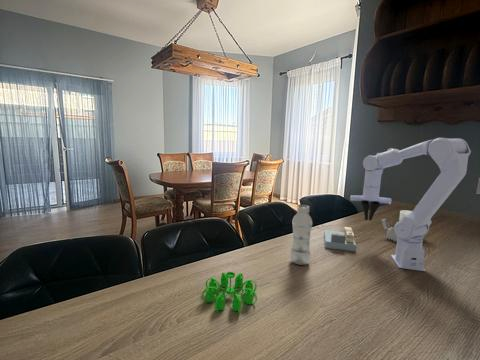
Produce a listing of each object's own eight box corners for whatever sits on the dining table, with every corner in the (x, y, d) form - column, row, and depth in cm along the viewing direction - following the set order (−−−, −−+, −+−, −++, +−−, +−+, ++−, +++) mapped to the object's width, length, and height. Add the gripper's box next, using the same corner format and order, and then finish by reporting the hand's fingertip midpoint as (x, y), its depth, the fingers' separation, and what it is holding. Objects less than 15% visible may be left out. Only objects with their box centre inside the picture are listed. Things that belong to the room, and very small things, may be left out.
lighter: (397, 240, 111) (400, 222, 109) (395, 241, 110) (397, 223, 109) (381, 235, 117) (383, 218, 115) (379, 235, 116) (381, 218, 115)
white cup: (411, 231, 123) (414, 210, 121) (421, 237, 115) (424, 215, 113) (394, 230, 124) (396, 209, 122) (402, 236, 116) (405, 214, 114)
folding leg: (353, 242, 101) (354, 234, 100) (346, 241, 101) (347, 233, 101) (350, 234, 109) (351, 226, 109) (343, 233, 110) (344, 226, 109)
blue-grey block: (355, 251, 99) (356, 237, 99) (325, 247, 102) (326, 234, 101) (350, 238, 112) (352, 226, 111) (323, 235, 115) (324, 223, 114)
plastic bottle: (310, 268, 86) (314, 209, 82) (289, 266, 87) (293, 208, 84) (309, 259, 92) (313, 204, 88) (289, 257, 93) (293, 203, 90)
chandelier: (244, 325, 60) (245, 297, 59) (190, 306, 66) (189, 280, 65) (266, 291, 73) (267, 268, 72) (219, 277, 79) (219, 256, 78)
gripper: (389, 185, 105) (385, 218, 107) (350, 183, 108) (347, 214, 111) (394, 189, 98) (390, 223, 100) (353, 186, 102) (349, 219, 104)
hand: (368, 219), depth 105 cm, fingers closed
